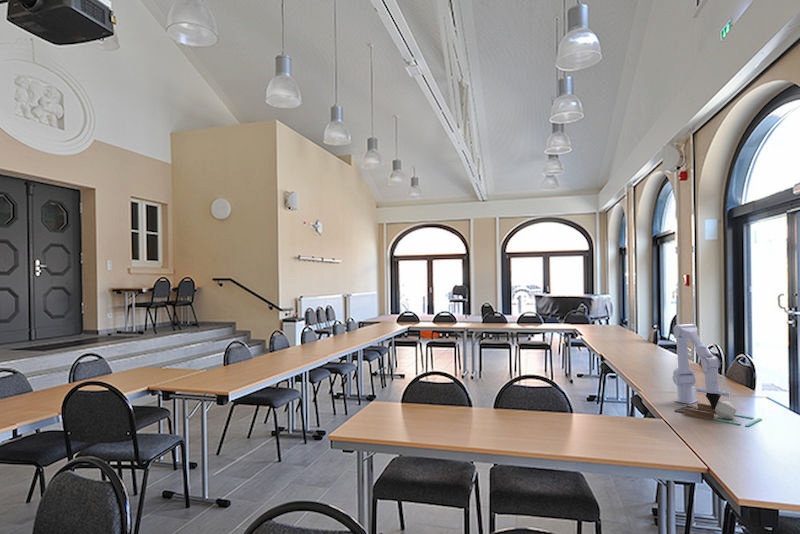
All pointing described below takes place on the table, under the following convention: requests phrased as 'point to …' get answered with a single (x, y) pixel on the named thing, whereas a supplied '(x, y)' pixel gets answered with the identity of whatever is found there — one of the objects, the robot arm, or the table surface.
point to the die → (725, 410)
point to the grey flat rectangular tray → (683, 408)
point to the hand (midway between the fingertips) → (714, 408)
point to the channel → (701, 413)
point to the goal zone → (740, 423)
